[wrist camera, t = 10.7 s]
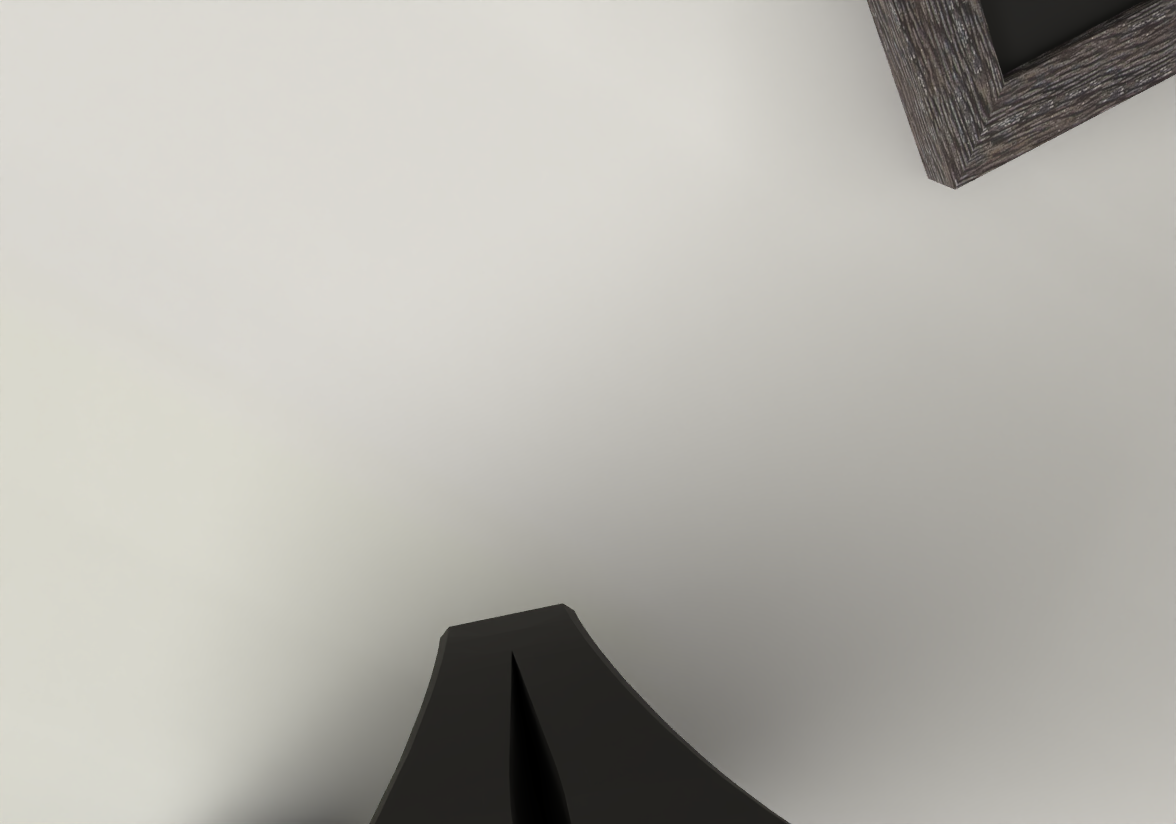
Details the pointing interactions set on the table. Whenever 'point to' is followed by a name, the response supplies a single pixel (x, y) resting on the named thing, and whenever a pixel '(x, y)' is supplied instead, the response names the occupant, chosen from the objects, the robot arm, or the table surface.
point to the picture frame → (1016, 71)
